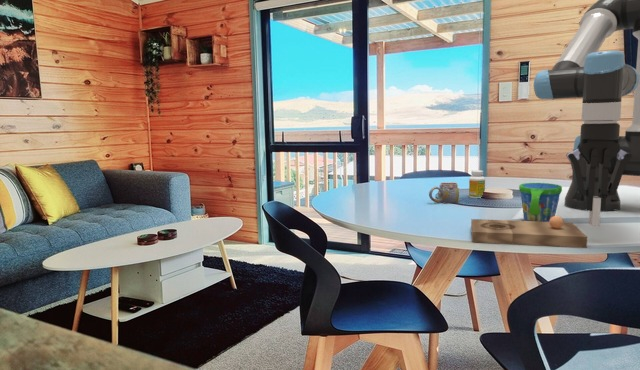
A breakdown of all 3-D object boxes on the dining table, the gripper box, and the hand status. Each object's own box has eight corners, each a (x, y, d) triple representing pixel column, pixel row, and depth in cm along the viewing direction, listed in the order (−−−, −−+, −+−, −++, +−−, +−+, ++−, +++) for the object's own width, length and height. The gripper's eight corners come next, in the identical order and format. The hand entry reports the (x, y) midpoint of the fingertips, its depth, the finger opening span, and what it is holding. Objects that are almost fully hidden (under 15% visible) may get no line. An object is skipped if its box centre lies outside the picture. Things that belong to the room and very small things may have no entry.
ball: (561, 227, 110) (562, 214, 110) (564, 230, 107) (564, 217, 107) (547, 226, 111) (548, 214, 111) (550, 229, 108) (550, 217, 108)
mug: (450, 199, 164) (450, 181, 163) (463, 202, 158) (463, 183, 157) (422, 202, 159) (422, 183, 159) (435, 205, 153) (435, 186, 152)
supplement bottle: (478, 199, 163) (479, 172, 161) (465, 197, 167) (466, 170, 165) (487, 197, 166) (488, 170, 164) (474, 195, 170) (475, 169, 169)
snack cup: (552, 230, 118) (553, 190, 116) (509, 224, 124) (511, 187, 123) (566, 218, 129) (568, 183, 128) (527, 214, 136) (528, 180, 135)
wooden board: (572, 232, 115) (572, 222, 114) (586, 247, 102) (587, 236, 101) (471, 228, 122) (471, 218, 121) (472, 242, 108) (472, 231, 108)
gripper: (627, 121, 105) (620, 222, 108) (564, 122, 109) (559, 220, 112) (639, 122, 98) (632, 229, 101) (571, 123, 102) (566, 227, 105)
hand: (594, 224), depth 107 cm, fingers closed
